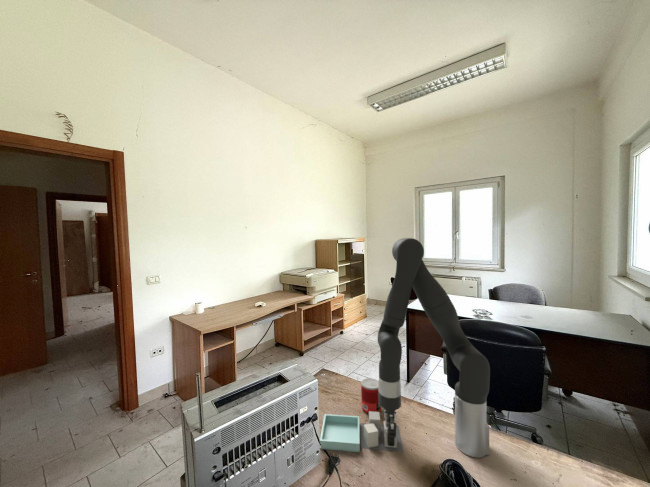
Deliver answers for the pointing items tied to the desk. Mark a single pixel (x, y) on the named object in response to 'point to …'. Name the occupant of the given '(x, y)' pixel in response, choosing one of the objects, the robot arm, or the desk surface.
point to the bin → (340, 433)
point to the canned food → (370, 395)
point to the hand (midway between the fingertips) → (390, 439)
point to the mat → (382, 440)
